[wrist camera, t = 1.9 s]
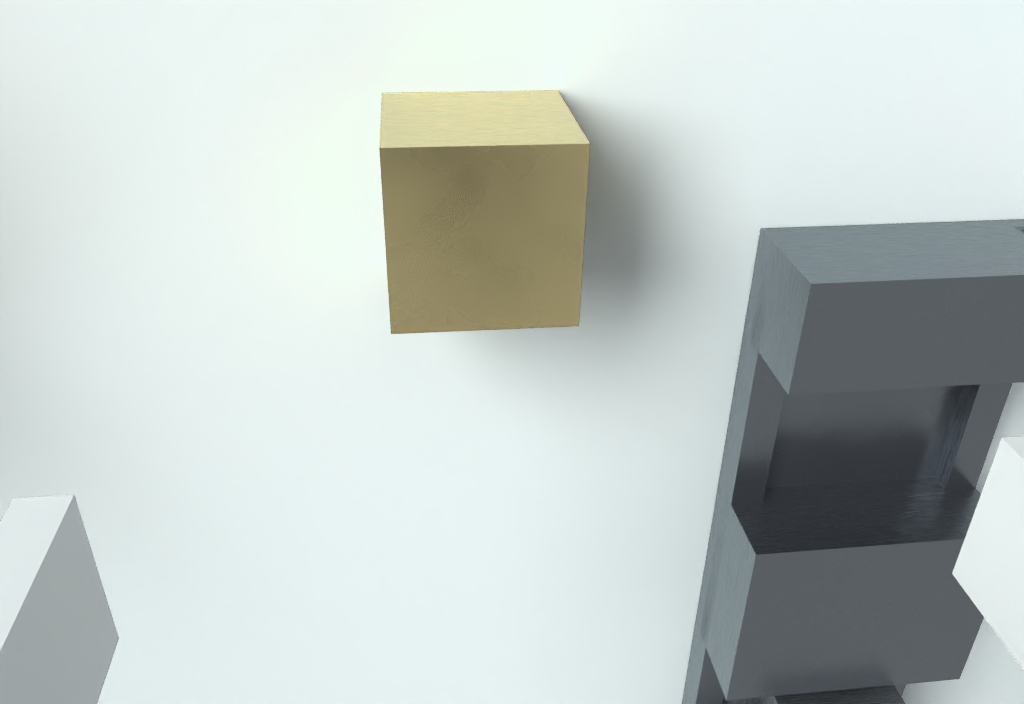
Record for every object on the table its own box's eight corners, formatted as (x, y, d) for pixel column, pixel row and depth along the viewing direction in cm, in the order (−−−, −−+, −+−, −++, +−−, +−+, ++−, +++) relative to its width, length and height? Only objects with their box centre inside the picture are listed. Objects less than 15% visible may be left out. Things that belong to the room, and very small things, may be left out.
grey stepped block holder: (858, 752, 44) (898, 831, 40) (670, 771, 43) (695, 853, 39) (1036, 218, 30) (1121, 270, 26) (760, 228, 29) (811, 283, 25)
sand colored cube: (550, 249, 28) (579, 325, 24) (391, 254, 28) (390, 334, 23) (557, 89, 26) (590, 143, 21) (381, 91, 25) (379, 147, 21)
